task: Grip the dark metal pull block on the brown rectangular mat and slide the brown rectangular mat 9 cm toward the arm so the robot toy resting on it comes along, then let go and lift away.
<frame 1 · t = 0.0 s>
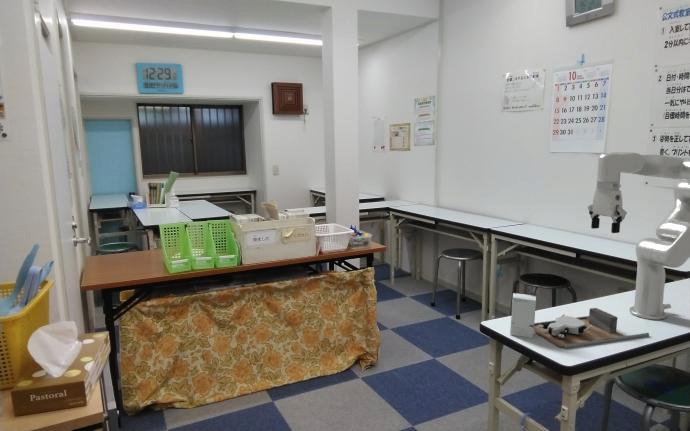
hand: (604, 230, 171), 37 cm above the table, tool pointing down, fingers open, 9 cm apart
skincare box: (522, 334, 166), on the table
brown rectangular mat: (575, 324, 165), point 3 cm above the table, slide at 0.0 cm, touching robot toy
guide rails: (586, 331, 167), on the table
robot toy: (563, 333, 165), resting on brown rectangular mat
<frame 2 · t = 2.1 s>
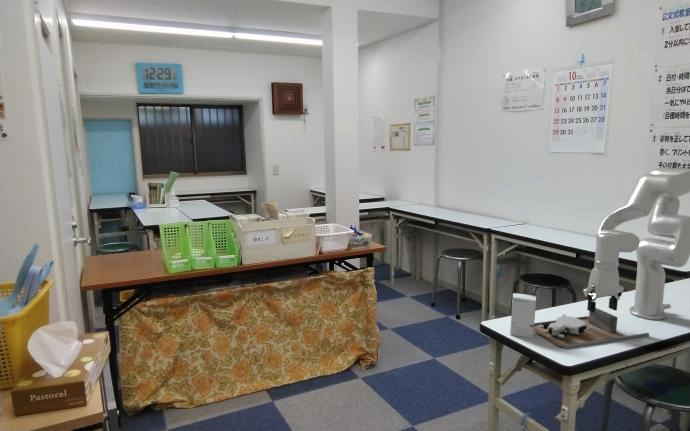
hand: (601, 310, 167), 8 cm above the table, tool pointing down, fingers open, 9 cm apart
nothing on the table moved.
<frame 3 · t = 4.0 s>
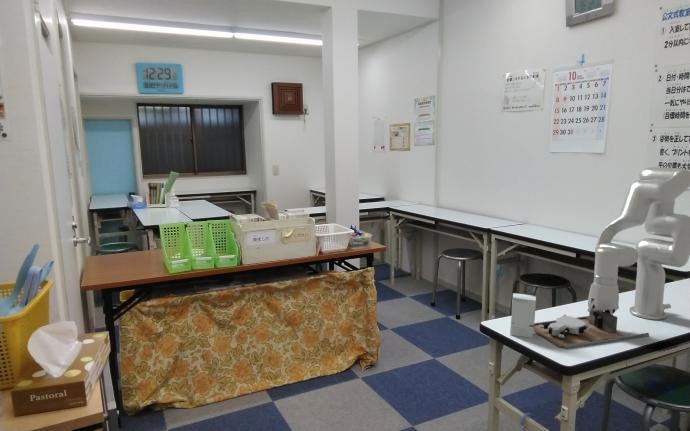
hand: (602, 326, 168), 1 cm above the table, tool pointing down, fingers closed on brown rectangular mat, 3 cm apart
brown rectangular mat: (575, 324, 165), point 3 cm above the table, slide at 0.0 cm, touching gripper, robot toy
everything else where it was.
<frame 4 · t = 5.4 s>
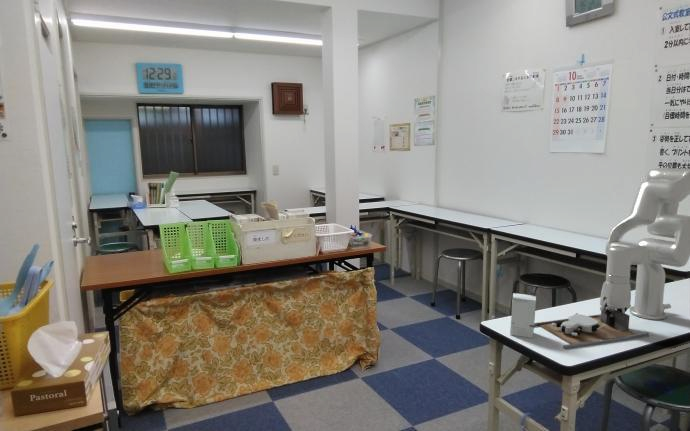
hand: (614, 324, 170), 1 cm above the table, tool pointing down, fingers closed on brown rectangular mat, 3 cm apart
brown rectangular mat: (588, 322, 167), point 3 cm above the table, slide at 5.5 cm, touching gripper, robot toy
robot toy: (576, 332, 166), resting on brown rectangular mat
everything else where it was.
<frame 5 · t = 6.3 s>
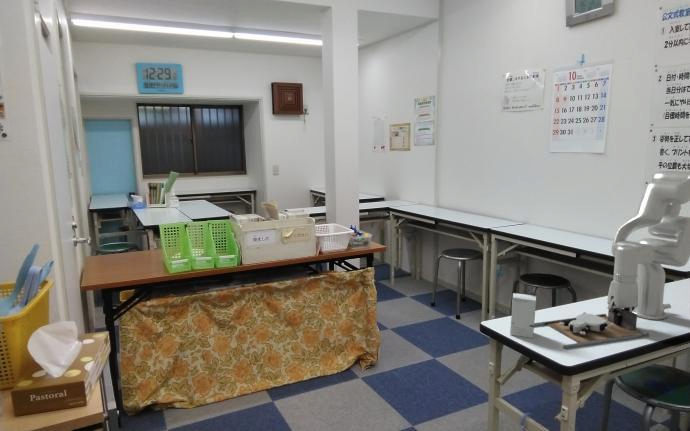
hand: (621, 323, 170), 1 cm above the table, tool pointing down, fingers closed on brown rectangular mat, 3 cm apart
brown rectangular mat: (595, 321, 167), point 3 cm above the table, slide at 8.9 cm, touching gripper, robot toy
robot toy: (584, 331, 166), resting on brown rectangular mat
everything else where it was.
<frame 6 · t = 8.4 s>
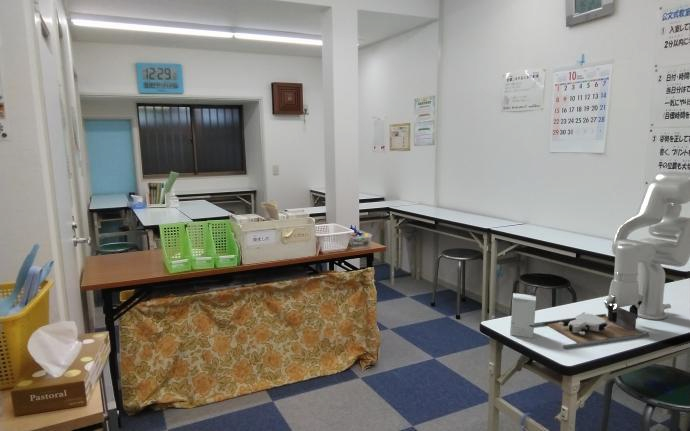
hand: (622, 319, 171), 3 cm above the table, tool pointing down, fingers open, 9 cm apart
brown rectangular mat: (595, 321, 167), point 3 cm above the table, slide at 8.7 cm, touching robot toy
everything else where it was.
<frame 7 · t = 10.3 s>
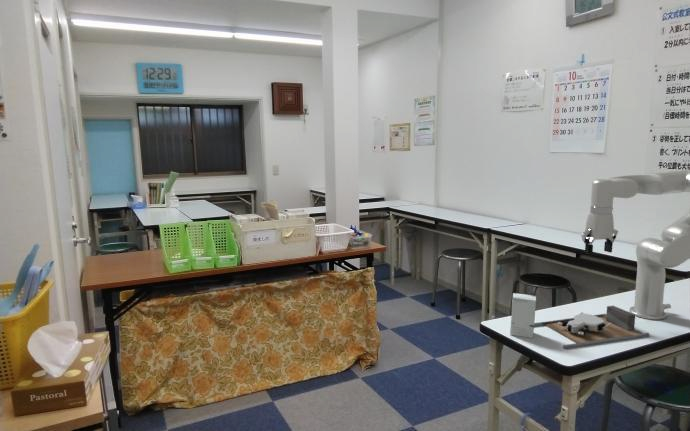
hand: (598, 252, 177), 27 cm above the table, tool pointing down, fingers open, 9 cm apart
brown rectangular mat: (593, 322, 167), point 3 cm above the table, slide at 8.1 cm, touching robot toy
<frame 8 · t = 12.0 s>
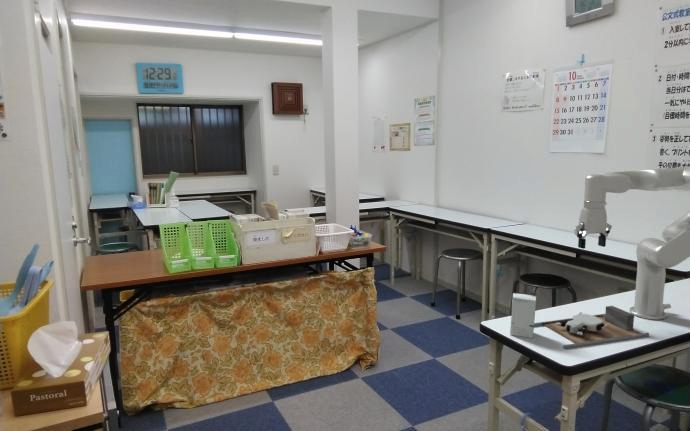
hand: (591, 247, 180), 28 cm above the table, tool pointing down, fingers open, 9 cm apart
brown rectangular mat: (592, 322, 167), point 3 cm above the table, slide at 7.6 cm, touching robot toy
at the end: brown rectangular mat slide at 7.6 cm; robot toy inside the target area (2.8 cm from its centre), resting on brown rectangular mat; robot toy tilted 0° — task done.
